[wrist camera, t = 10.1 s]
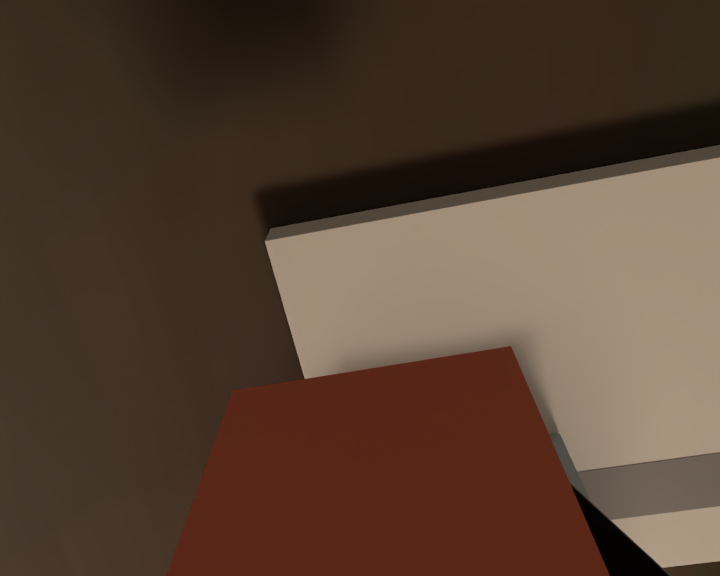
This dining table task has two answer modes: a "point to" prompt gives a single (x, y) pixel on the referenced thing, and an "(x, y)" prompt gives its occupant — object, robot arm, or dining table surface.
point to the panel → (550, 319)
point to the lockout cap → (388, 479)
